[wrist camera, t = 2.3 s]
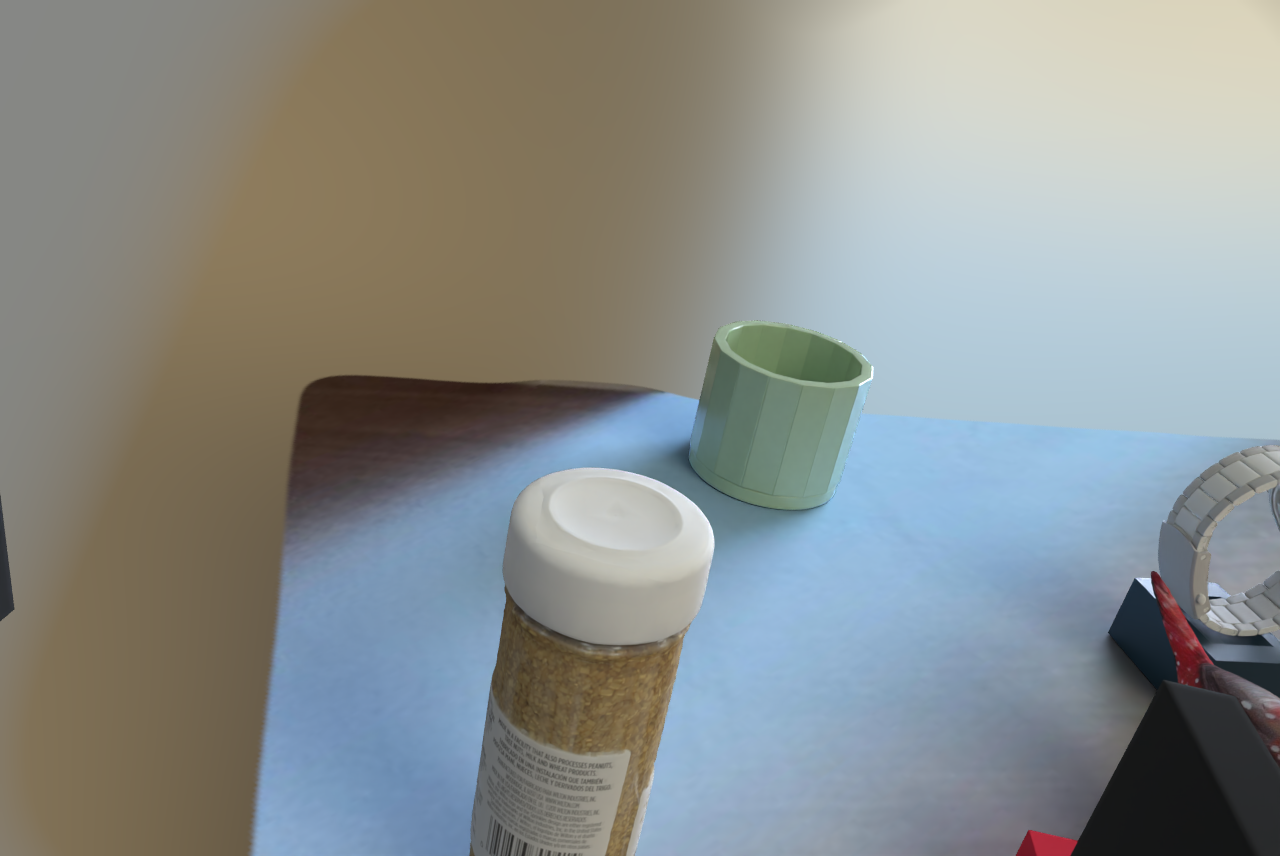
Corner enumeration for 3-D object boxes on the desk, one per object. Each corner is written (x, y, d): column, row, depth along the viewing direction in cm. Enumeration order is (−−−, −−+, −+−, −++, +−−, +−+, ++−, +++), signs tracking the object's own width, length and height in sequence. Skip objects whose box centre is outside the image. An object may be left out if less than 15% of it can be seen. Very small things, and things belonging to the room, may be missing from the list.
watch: (1308, 722, 43) (1447, 505, 38) (1146, 718, 41) (1269, 488, 36) (1221, 637, 47) (1334, 434, 43) (1073, 629, 46) (1173, 417, 41)
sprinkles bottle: (648, 916, 28) (756, 520, 23) (544, 1035, 25) (641, 603, 19) (527, 824, 31) (597, 440, 25) (416, 922, 27) (466, 501, 21)
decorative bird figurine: (1304, 1145, 26) (1523, 885, 22) (1059, 684, 42) (1156, 480, 37) (1408, 1158, 26) (1646, 903, 22) (1125, 695, 42) (1229, 492, 38)
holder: (658, 461, 53) (685, 339, 50) (736, 420, 59) (764, 310, 56) (793, 529, 49) (830, 402, 46) (860, 477, 56) (897, 363, 52)
